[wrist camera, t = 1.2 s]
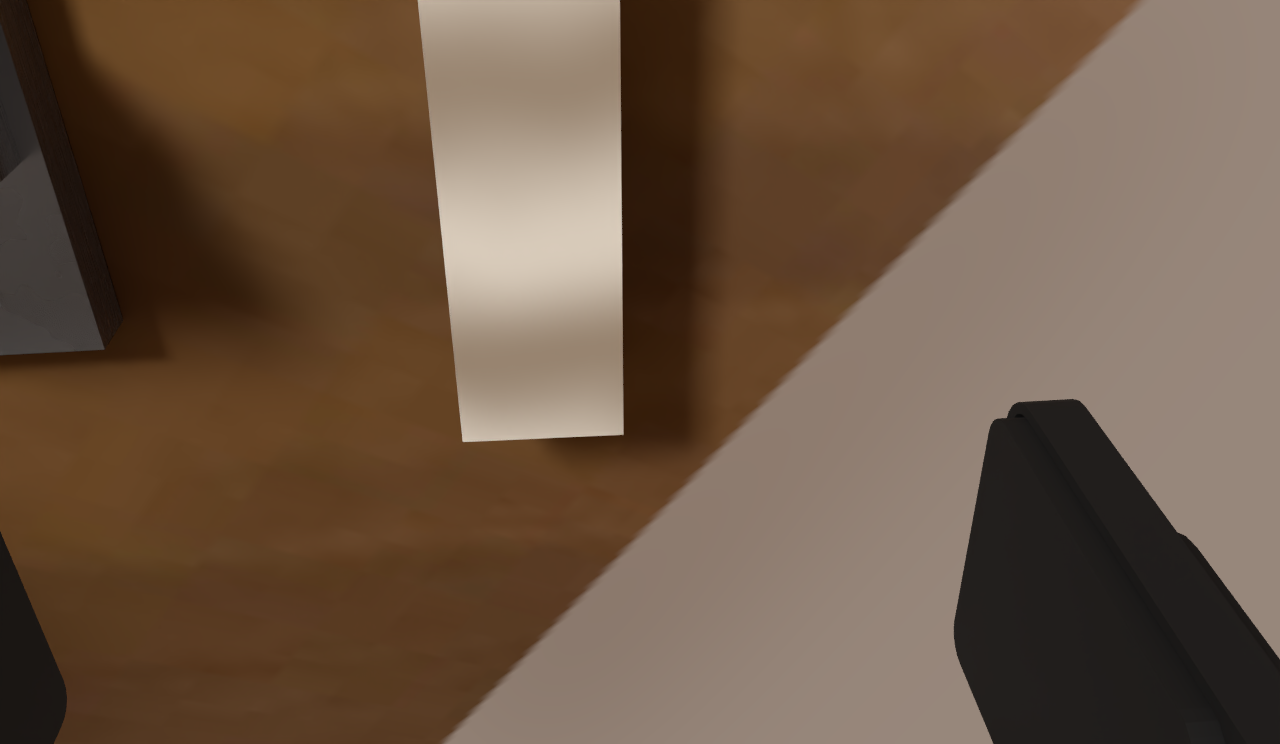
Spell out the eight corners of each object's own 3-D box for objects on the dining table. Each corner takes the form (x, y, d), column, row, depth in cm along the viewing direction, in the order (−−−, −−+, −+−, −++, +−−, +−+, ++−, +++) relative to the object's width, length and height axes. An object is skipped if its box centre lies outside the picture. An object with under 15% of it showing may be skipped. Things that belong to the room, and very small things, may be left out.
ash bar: (614, 352, 31) (623, 435, 28) (470, 358, 31) (462, 441, 28) (603, -436, 22) (616, -456, 18) (397, -438, 22) (371, -459, 18)
